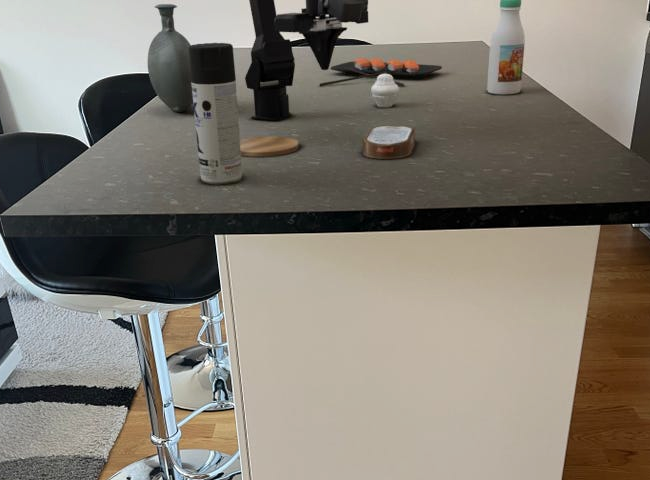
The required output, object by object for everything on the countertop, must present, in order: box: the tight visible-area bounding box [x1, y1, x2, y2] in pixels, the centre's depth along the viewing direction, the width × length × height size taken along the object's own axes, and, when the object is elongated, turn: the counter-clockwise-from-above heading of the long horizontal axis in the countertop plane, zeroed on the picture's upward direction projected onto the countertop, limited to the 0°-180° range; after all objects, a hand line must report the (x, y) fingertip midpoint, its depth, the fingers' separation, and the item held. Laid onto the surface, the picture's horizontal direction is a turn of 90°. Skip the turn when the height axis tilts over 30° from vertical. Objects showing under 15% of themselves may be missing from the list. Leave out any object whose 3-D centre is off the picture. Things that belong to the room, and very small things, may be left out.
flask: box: [147, 3, 194, 113], centre depth 168 cm, size 12×17×22 cm
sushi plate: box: [319, 57, 443, 87], centre depth 203 cm, size 29×30×4 cm
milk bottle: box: [486, 0, 526, 95], centre depth 177 cm, size 8×8×20 cm
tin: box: [362, 125, 416, 160], centre depth 137 cm, size 15×3×8 cm
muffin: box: [370, 73, 400, 108], centre depth 170 cm, size 6×6×7 cm
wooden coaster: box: [240, 136, 299, 158], centre depth 140 cm, size 12×12×1 cm
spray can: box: [189, 42, 243, 185], centre depth 118 cm, size 7×7×20 cm
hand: (324, 69), depth 143 cm, fingers closed
